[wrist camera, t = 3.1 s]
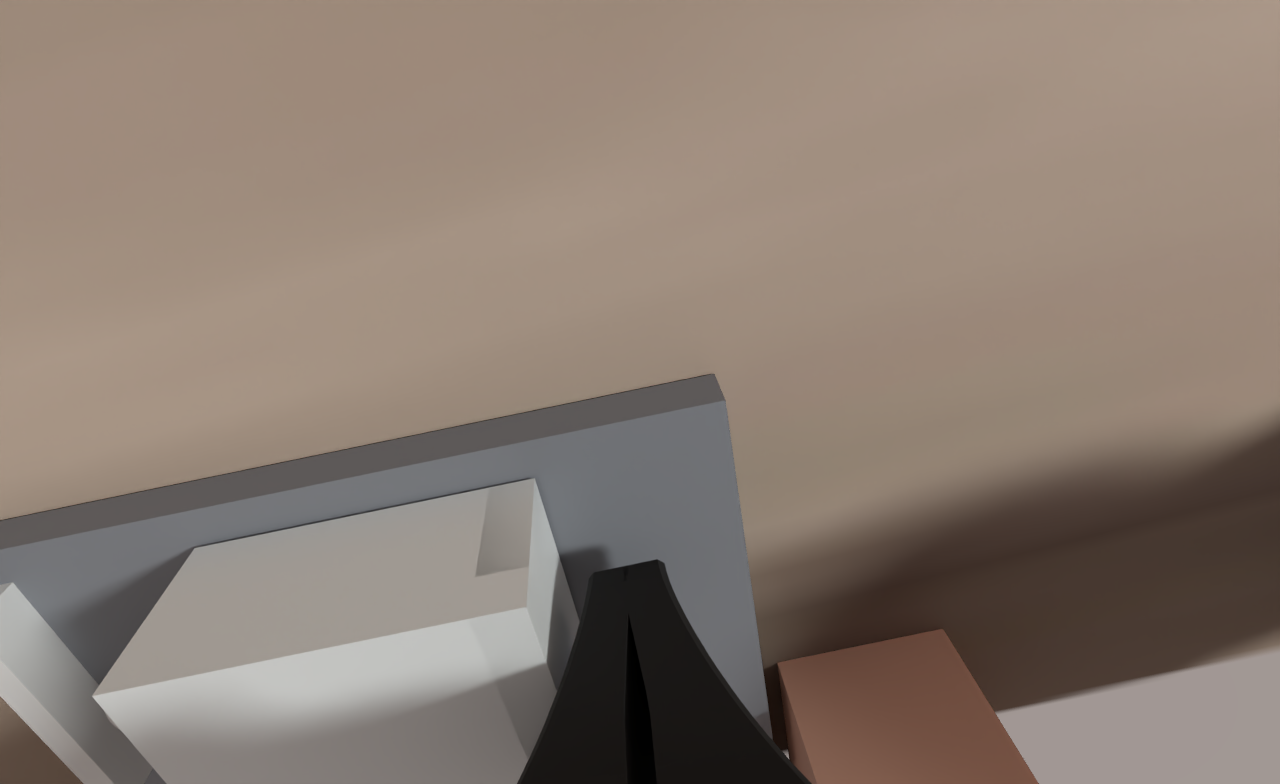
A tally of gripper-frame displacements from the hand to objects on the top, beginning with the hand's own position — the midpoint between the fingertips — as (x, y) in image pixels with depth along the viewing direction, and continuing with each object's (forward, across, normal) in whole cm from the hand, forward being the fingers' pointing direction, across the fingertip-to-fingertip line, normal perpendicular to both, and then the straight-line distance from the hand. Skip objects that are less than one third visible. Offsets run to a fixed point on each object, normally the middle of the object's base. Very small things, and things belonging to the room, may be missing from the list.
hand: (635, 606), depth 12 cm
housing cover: (+1, +4, 0) cm, 4 cm away
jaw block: (+2, -5, +7) cm, 9 cm away
